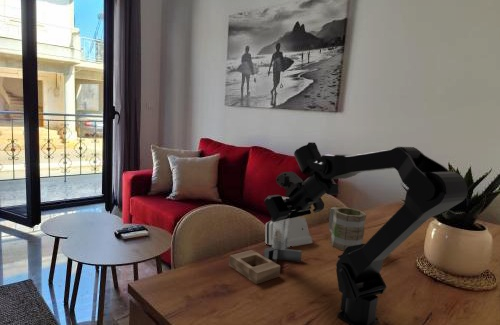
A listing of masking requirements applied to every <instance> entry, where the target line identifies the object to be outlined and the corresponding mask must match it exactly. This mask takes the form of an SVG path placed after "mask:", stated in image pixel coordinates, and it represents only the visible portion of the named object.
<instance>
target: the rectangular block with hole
mask: <svg viewBox="0 0 500 325" xmlns="http://www.w3.org/2000/svg"><path fill="white" fill-rule="evenodd" d="M228 267H230V268H232V269H233V270H235V271H236V272H238V273H239V274H240V275H242V276H243V277H245V278H246V279H248V280H249V281H250V282H252V283H254V284H256V285H259V284H261V283H264V282H267V281H269V280H273V279H277V278H279V277H280V273H281V265H280V264H278V263H277V264H276V263H274V262H273V261H272V260H269V259H267V258H266V257H264V255H262V254H260V253H259V252H257V251H255V250H253V249H250V250H245V251H242V252H237V253H235V254H234V253H233V254H230V255H229V259H228Z"/></svg>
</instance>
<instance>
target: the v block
mask: <svg viewBox="0 0 500 325" xmlns="http://www.w3.org/2000/svg"><path fill="white" fill-rule="evenodd" d="M302 255H303V251H302V250H300V249H299V250H298V249H292V248H291V249H289V248H287V249H285V250H278V249H274V248H273V247H272V246H270V247H266V248H264V252H263V256H264V257H266V258H267V259H269V260H271V261H273V262H274V263H276V264H278V263H277V261H278V260H281V261H282V260H283V261H291V262H298V263H301V262H302Z"/></svg>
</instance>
